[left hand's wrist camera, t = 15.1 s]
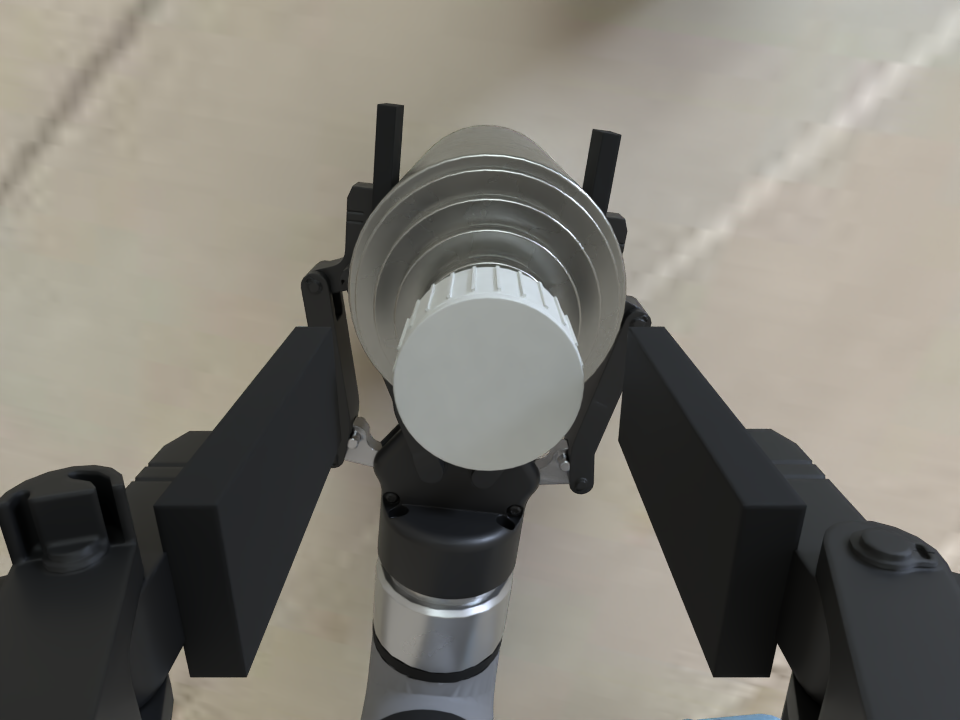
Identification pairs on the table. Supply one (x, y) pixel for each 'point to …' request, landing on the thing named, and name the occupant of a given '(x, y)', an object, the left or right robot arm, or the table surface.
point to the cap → (488, 370)
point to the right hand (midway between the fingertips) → (499, 118)
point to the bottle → (486, 240)
